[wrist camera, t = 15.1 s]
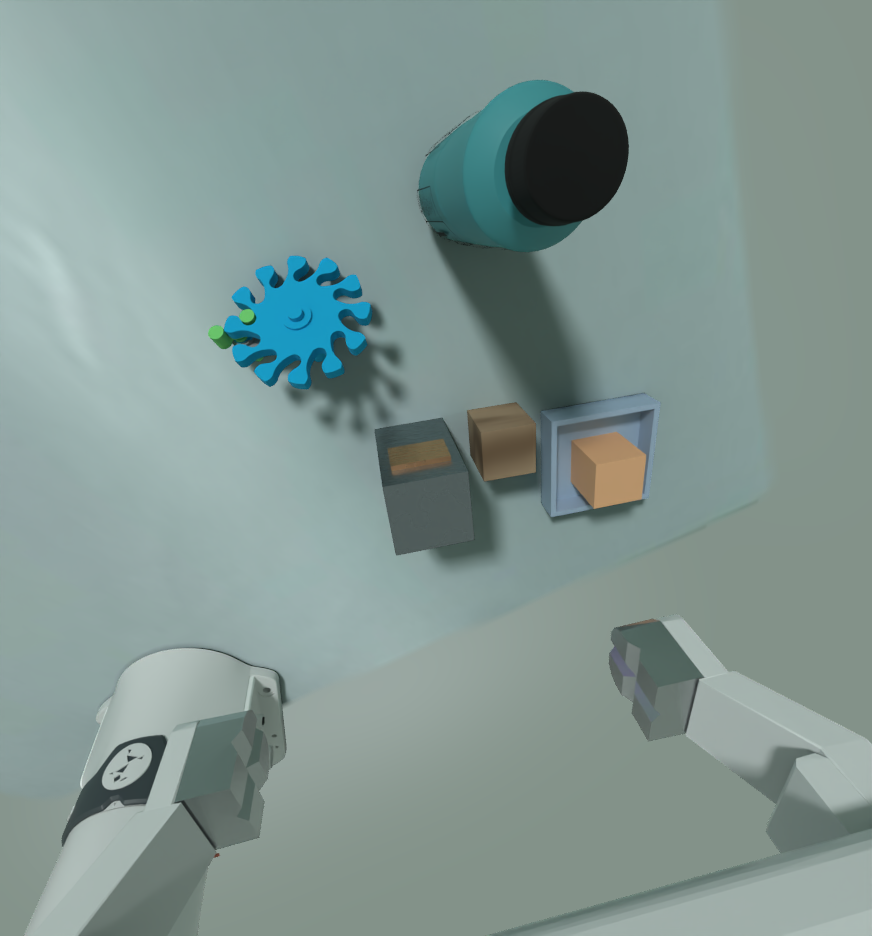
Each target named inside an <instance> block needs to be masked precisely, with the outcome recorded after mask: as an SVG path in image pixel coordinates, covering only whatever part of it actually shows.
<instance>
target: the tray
mask: <svg viewBox="0 0 872 936" xmlns="http://www.w3.org/2000/svg"><path fill="white" fill-rule="evenodd" d="M660 404H661V403H660V402H659V401H657V400H655V399H654V398H652V397H650V396H649V395H647V394H645V393H641V394H636V395H630V396H624V397H618V398H613V399H607V400H601V401H596V402H590V403H584V404H578V405H573V406H567V407H561V408H556V409H550V410H544V411H541V503H542V505H543V506H544V508H545V509H546V511H547V512H548V514H549V515H550V517H555V516H560V515H565V514H570V513H575V512H580V511H585V510H590V509H594V508H593V507H592V506H591V505H590V504H589V503H588V501H587V500H586V499H585V498H584V497H583V495H582V494H581V493H580V492H579V491H578V490H577V488H576V487H575V486H574V485H573V484H572V483H571V440H576V439H581V438H586V437H591V436H597V435H602V434H607V433H613V432H618V433H619V434H621V435H622V436H623V437H624V438H626V439H627V440H628V441H629V442H631V443H632V444H633V445H634V446H636V447H637V448H638V449H639V450H641V451H642V452H643V453H645V454H646V464H645V473H644V482H643V491H642V499H646V498H649V491H650V483H651V475H652V467H653V459H654V451H655V443H656V435H657V427H658V419H659V411H660ZM640 500H641V499H640ZM635 501H636V500H635ZM630 502H631V501H630Z"/></svg>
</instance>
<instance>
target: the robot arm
mask: <svg viewBox="0 0 872 936" xmlns="http://www.w3.org/2000/svg"><path fill="white" fill-rule="evenodd" d="M611 641H612V642H613V644H614V646H615V647H614V648H613V649H612V650H611V652H610V653H609V665H610V670H611V674H612V677H613V679H614V682H615V684H616V686H617V688H618V690H619V691H620V693H621V695H622V696H624V697H626V698H627V699H629V700H630V701H632V702H633V708H632V714H633V716H634V717H635V719H636V721H637V723H638V724H639V726H640V728H641V730H642V731H643V733H644V735H645V736H646V738H647V740H648V741H652V740H657V739H661V738H666V737H671V736H676V735H680V734H685V733H686V736H687V737H688V738H690V739H691V740H692V741H694V742H695V743H696V744H697V745H699V746H700V747H701V748H703V749H704V750H705V751H707V752H708V753H709V754H711V755H712V756H713V757H715V758H716V759H717V760H719V761H720V762H721V763H722V764H724V765H725V766H726V767H728V768H729V769H731V770H732V771H733V772H734V773H736V774H737V775H738V776H740V777H741V778H742V779H744V780H745V781H746V782H748V783H749V784H750V785H752V786H753V787H754V788H756V789H757V790H758V791H760V792H761V793H762V794H763V795H765V796H766V797H767V798H769V799H770V800H771V801H773V802H774V803H775V804H776V805H775V808H774V810H773V812H772V814H771V817H770V819H769V821H768V824H767V829H766V832H767V834H768V836H769V837H770V839H771V840H772V842H773V843H774V845H775V846H776V847H777V849H778V850H779V852H780V853H781V854H777V855H774V856H770V857H767V858H763V859H760V860H756V861H752V862H749V863H745V864H741V865H738V866H734V867H731V868H727V869H723V870H720V871H716V872H713V873H709V874H706V875H702V876H698V877H695V878H691V879H688V880H684V881H681V882H677V883H673V884H670V885H666V886H663V887H659V888H655V889H652V890H648V891H644V892H641V893H638V894H634V895H630V896H626V897H623V898H619V899H616V900H612V901H608V902H605V903H601V904H598V905H594V906H591V907H587V908H583V909H580V910H576V911H573V912H569V913H565V914H562V915H558V916H555V917H551V918H547V919H544V920H540V921H537V922H533V923H530V924H526V925H523V926H519V927H515V928H512V929H508V930H504V931H501V932H497V933H494V934H490V935H487V936H872V744H871V743H870V742H869V741H868V740H867V739H866V738H864V737H862V736H860V735H858V734H856V733H854V732H852V731H850V730H849V729H847V728H845V727H843V726H841V725H839V724H837V723H835V722H833V721H831V720H829V719H827V718H825V717H823V716H822V715H819V714H818V713H815V712H814V711H812V710H810V709H808V708H806V707H804V706H802V705H800V704H798V703H796V702H794V701H792V700H790V699H789V698H786V697H785V696H783V695H781V694H779V693H777V692H775V691H773V690H771V689H769V688H767V687H765V686H763V685H761V684H759V683H758V682H756V681H754V680H752V679H750V678H748V677H746V676H744V675H742V674H740V673H738V672H736V671H731V672H728V671H727V670H726V668H725V667H724V666H723V665H722V664H721V662H720V661H719V660H718V659H717V658H716V657H715V655H714V654H713V653H712V652H711V651H710V650H709V648H708V647H707V646H706V645H705V644H704V643H703V641H702V640H701V639H700V638H699V637H698V636H697V634H696V633H695V632H694V631H693V630H692V628H691V627H690V626H689V625H688V624H687V623H686V621H685V620H684V619H683V618H682V617H681V616H679V615H677V614H675V615H669V616H665V617H661V618H656V619H650V620H645V621H641V622H637V623H633V624H629V625H624V626H620V627H616V628H614V629H613V631H612V632H611ZM96 721H97V722H98V723H99V724H100V728H99V731H98V733H97V736H96V739H95V741H94V744H93V747H92V750H91V752H90V755H89V758H88V761H87V763H86V766H85V769H84V772H83V775H82V778H81V782H80V785H81V788H83V789H82V791H81V793H80V795H79V798H78V800H77V802H76V804H75V805H74V806H73V808H72V810H71V812H70V815H69V817H68V820H67V822H68V823H67V825H66V828H65V831H64V833H63V836H62V847H63V848H62V851H61V853H60V855H59V857H58V859H57V862H56V864H55V866H54V869H53V871H52V873H51V875H50V878H49V880H48V882H47V884H46V886H45V889H44V891H43V893H42V895H41V898H40V900H39V902H38V904H37V907H36V909H35V911H34V914H33V916H32V918H31V920H30V922H29V925H28V927H27V929H26V931H25V934H24V936H197V935H198V928H199V920H200V912H201V905H202V899H203V892H204V886H205V881H206V876H207V870H208V866H209V865H210V863H211V861H212V859H213V858H214V857H218V856H219V853H217V854H216V851H215V850H217V849H221V848H224V847H228V846H231V845H235V844H238V843H242V842H245V841H249V840H253V839H257V838H259V835H260V829H261V822H262V814H263V808H264V800H263V798H262V796H261V794H260V792H259V790H260V789H261V787H262V786H263V785H264V783H265V781H266V780H267V779H268V772H269V771H268V770H269V769H270V768H272V766H273V765H275V764H276V763H278V762H279V761H281V760H282V759H283V758H284V757H285V753H286V739H285V729H284V720H283V711H282V701H281V692H280V683H279V676H278V674H277V673H276V672H275V671H272V670H269V669H265V668H260V667H254V666H249V665H247V664H245V663H243V662H241V661H239V660H237V659H235V658H233V657H231V656H228V655H226V654H223V653H219V652H216V651H211V650H206V649H197V648H180V649H171V650H165V651H161V652H157V653H154V654H151V655H148V656H146V657H144V658H142V659H140V660H138V661H136V662H135V663H133V664H132V665H131V666H129V667H128V668H127V669H126V670H125V671H124V672H123V674H122V675H121V676H120V678H119V680H118V682H117V685H116V689H115V692H114V694H113V695H112V696H111V697H110V698H109V699H108V700H107V701H105V702H104V703H103V704H102V705H101V706H100V708H99V710H98V713H97V716H96Z"/></svg>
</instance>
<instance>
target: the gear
mask: <svg viewBox="0 0 872 936" xmlns="http://www.w3.org/2000/svg"><path fill="white" fill-rule="evenodd" d="M287 264H288V275H287V278H286V280H285V281H284V283H283V284H282V286H280V287H279V288H274V287H275V285H276V283H277V282H278V276H277V274H276V272H275V270H274V268H273V267H272V266H265V267H262V268H259V269H257V270H256V276H257V278H258V280H259V281H260V283H261V284H262V285H263V286H264V288H265V299H264V301H263V302H261V303H259V304H255V298H254V296H253V295H252V293H251V292H250V290H249V289H248V288H247V287H242V288H240V289H239V290H237V291H236V292H235V293H234V295H233V296H232V299H233V300H234V302H235V303H236V304H237V306H238V307H239V308H240V309H242V310H243V311H242V312H241V313H240V315H239V318H240V319H239V318H238V317H237V316H229V317H228V318H227V320H226V323H225V327H224V329H223V328H222V327H221V326H218V325H216V326H213V327H211V328H210V329H209V332H208V335H209V337H210V338H211V339H212V340H213V341H214V342H215V343H216V344H217V345H218V346H219V347H220V348H221V349H227V348H229V347H230V346H231V344H233V345H234V347H233V349H232V351H233V356H234V359H235V361H236V362H237V363H238V364H239V365H240V366H241V367H248V366H250V365H251V364H252V363H253V362H254V361H261V360H262V359H263V357H265V356H272V355H277V358H276V360H275V361H273V362H271V363H265V364H260V365H259V366H257V367H256V369H255V370H254V372H255V374H256V375H257V376H258V377H259V378H260V379H261V381H262V382H264V383H265V384H266V385H268V386H269V387H271V386H273V385H274V384H275V383H276V382H277V380H278V377H279V375H280V373H281V372H282V371H283V369H284V368H285V367H287V366H288V365H289V364H291V363H293V362H294V361H297V360H300V361H301V364H300V365H299V366H298V367H297V368H295V369H294V370H292V371H291V372H290V373H289V375H288V381H289V383H290V384H291V385H292V386H293V387H295V388H298V389H309V388H310V386H311V378H310V369H311V366H312V364H313V362H314V361H316V362H321V361H323V360H324V361H323V363H322V370H323V371H324V373H325V375H326V376H327V378H335V377H338V376H340V375H342V374H344V372H345V371H344V367H343V365H342V363H341V361H340V359H338V358H337V357H336V356H335V355H334V347H333V344H334V341H335V340H336V339H337V338H340V337H343V338H346V344H347V347H348V349H349V351H350V353H351V354H353V355H356V356H357V355H358V354H360V353H361V352H362V351H363V350H364V349H365V347H366V346H367V342H366V339H365V336H364V335H363V334H362V333H360V332H355V331H352V330H349V329H348V328H346V327H345V326H344V325H343V324H342V323H341V320H342V319H343V318H344V317H346V316H352V317H354V318H355V320H356V321H357V322H358V323H359V324H360V325H364V326H366V325H369V323H370V321H371V318H372V308H371V305H370V304H369V303H367V302H360V303H357V304H345V303H342V302H339V301H337V298H338V297H340V296H343V295H345V296H348V297H350V298H359V297H361V296H362V289H361V286H360V283H359V280H358V278H357V276H356V275H350V276H348V277H346V278H345V279H344V280H343V281H341V282H340V283H338V284H335V285H331V286H320V285H321V284H322V283H323V282H326V281H333V280H336V279H337V278H338V277H339V276H340V272H339V269H338V266H337V265H336V263H335V262H333V261H332V260H330V259H329V258H324V259H323V260H322V261H321V262H320V264H319V267H318V269H317V270H316V272H315V273H314V274H313V275H312V276H310V277H309V278H307V279H306V280H304V281H301V282H298V280H299V279H300V278H301V277H303V276H305V275H306V274H307V273H308V271H309V265H308V263H307V261H306V259H305V258H304V257H300V256H290V257H289V258H288V261H287ZM325 354H326V355H325ZM325 357H326V358H325Z"/></svg>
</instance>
